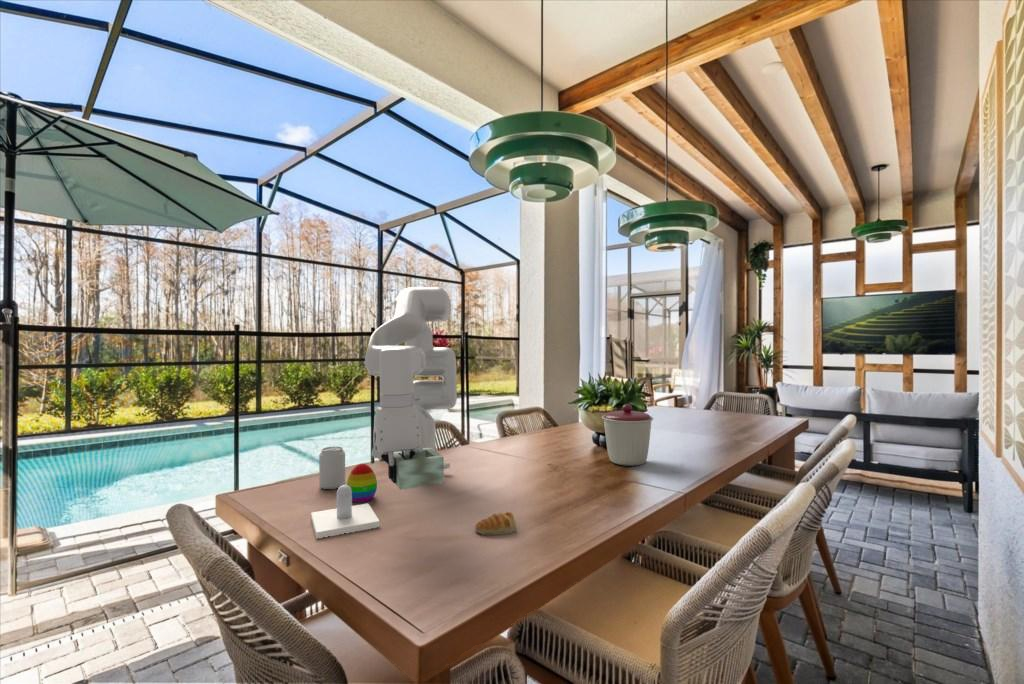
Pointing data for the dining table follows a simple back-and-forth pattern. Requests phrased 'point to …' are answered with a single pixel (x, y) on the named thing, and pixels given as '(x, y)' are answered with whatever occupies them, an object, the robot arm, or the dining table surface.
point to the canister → (627, 436)
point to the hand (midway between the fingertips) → (398, 480)
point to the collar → (419, 469)
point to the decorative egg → (362, 483)
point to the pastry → (497, 524)
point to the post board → (344, 525)
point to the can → (331, 467)
